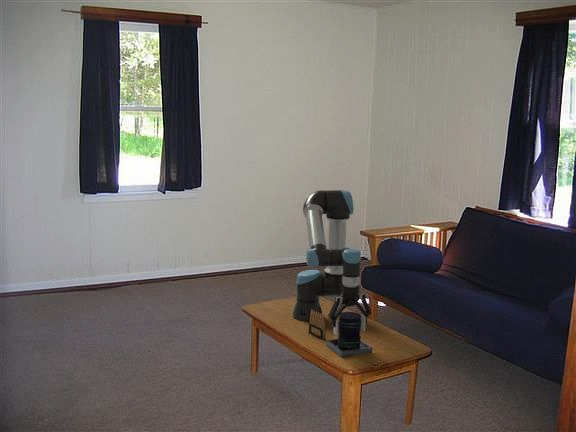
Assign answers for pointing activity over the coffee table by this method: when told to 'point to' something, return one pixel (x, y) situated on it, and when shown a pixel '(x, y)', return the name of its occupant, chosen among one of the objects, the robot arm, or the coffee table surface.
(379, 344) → the coffee table surface
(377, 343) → the coffee table surface
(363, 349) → the cradle tray
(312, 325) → the ammunition clip
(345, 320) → the storage jar
